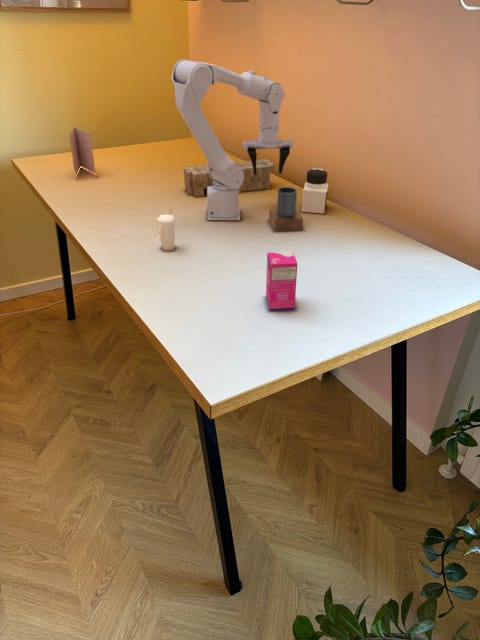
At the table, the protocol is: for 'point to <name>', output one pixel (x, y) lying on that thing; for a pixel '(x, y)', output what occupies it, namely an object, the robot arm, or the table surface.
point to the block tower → (200, 178)
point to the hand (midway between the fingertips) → (267, 172)
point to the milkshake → (167, 231)
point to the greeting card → (82, 152)
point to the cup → (286, 202)
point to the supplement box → (281, 280)
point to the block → (285, 222)
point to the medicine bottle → (315, 192)
